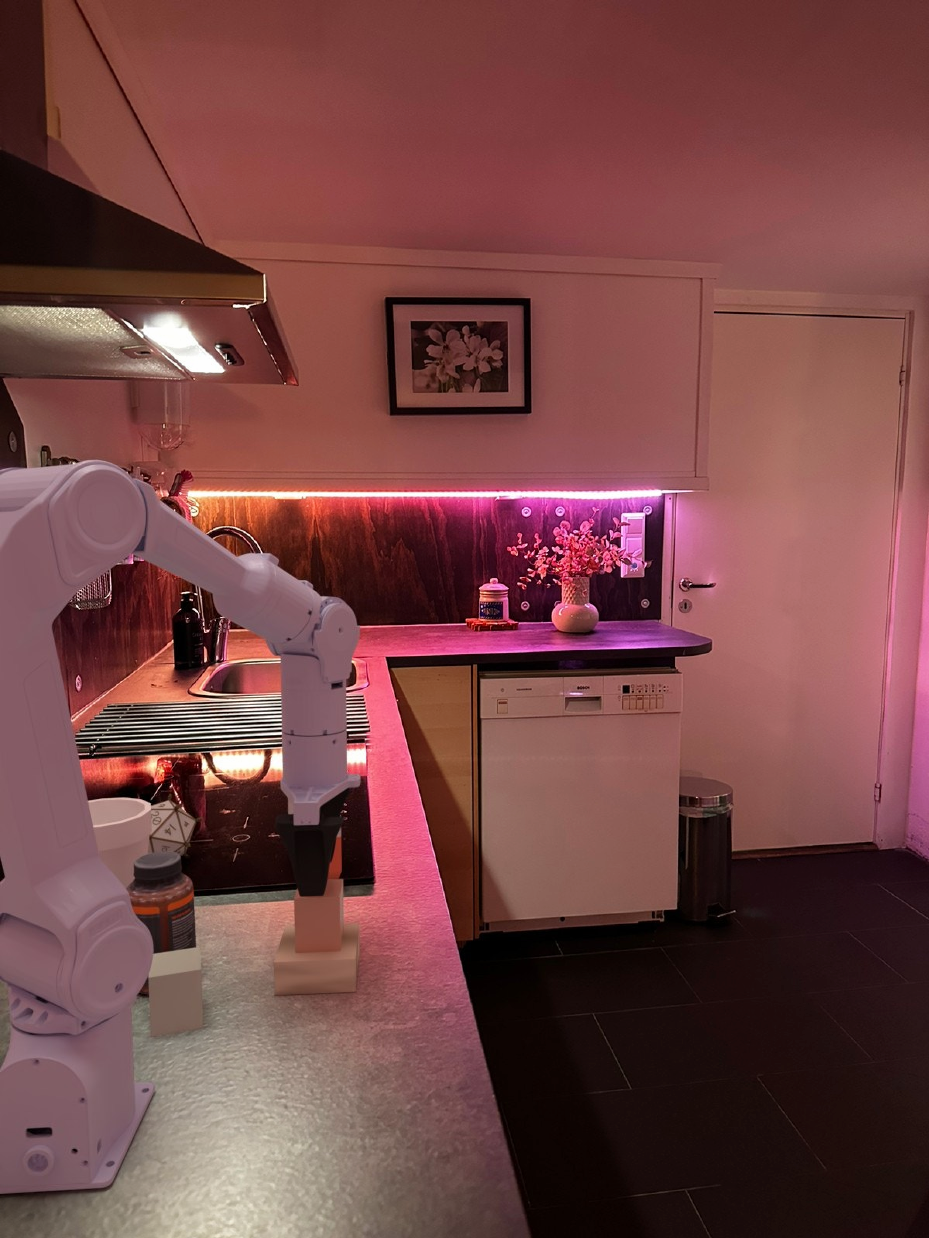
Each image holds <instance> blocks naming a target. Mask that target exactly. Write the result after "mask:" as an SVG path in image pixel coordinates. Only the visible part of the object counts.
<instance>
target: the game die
mask: <svg viewBox="0 0 929 1238" xmlns="http://www.w3.org/2000/svg"><path fill="white" fill-rule="evenodd" d="M172 798H173V795H172V794H171V793H169V794H168V795H167V800H165V801H164V800H163V801H160V802H158V803H155V804H152V805H151V823H152V833H150V835H149V845H148V854H149V853H154V852H163V851H170V852H175V853H178V854H179V855H180V856H181V857H182V856H183V857H184V856H185V857H186V856H189V857H190V854H189V853H186V852H187V851H188V848H190V847H192V846H191V843H190V841H191V839H192V836H193V833H194V830H195V827H196V825H197V822H198V823H199V822H202V820H203V819H204V817H201V816H199V817H197V818H196V817H195V818H194V816H192V815H191V814H190V813H188V812H187V811H185V810H184V809H183V808H182V807H180V804H179V803H178V804H176V802H174V801H172ZM185 857H184V858H185Z"/></svg>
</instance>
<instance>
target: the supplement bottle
mask: <svg viewBox="0 0 929 1238" xmlns="http://www.w3.org/2000/svg"><path fill="white" fill-rule="evenodd" d="M181 857H182V856H180V855H179V854H178V853H175V852H170V851H163V852H154V853H149V854H146V855H143V856H141V857H139V858H138V859H136V860H135V861H134V874H133V875H134V877H135V879H134V880H133V882H131V883H130V884H129V885H128V887H127V888H126V889H127V891H128V892H129V896H130V900H131V905H132V908H133V911H134V913H135V915H136V916H137V918H138V919H139V920H140V921H141V922H142V923H143V924H144V925H146V927H147V928H148V930H149V931H150V934H151V936H152V940H153V954H157V953H163V952H170V951H176V950H183V949H189V948H196V947H197V936H196V935H197V934H196V916H195V914H196V912H195V894H194V891H195V890H194V883H193V881H192V879H191V878H190V877H189V876H187V875H186V874H184V873H183V872H182V869H183V866H182V858H181ZM148 977H149V974H148ZM148 977H147V979H146V981H145V983H144V985H143V987H142V988H141V990H140V992H139V993H138V994H143V995H144V994H145V995H149V979H148Z"/></svg>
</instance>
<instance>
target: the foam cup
mask: <svg viewBox="0 0 929 1238" xmlns="http://www.w3.org/2000/svg"><path fill="white" fill-rule="evenodd" d="M88 804H89V809H90V813H91V818H92V823H93V828H94V833H95V837H96V842H97V847H98V852H99V856H100V857H101V859H102V860H103V862H104V863H105V864H106V865H107V867H108V868H109V869H110V870H111V871H112V872H113V874H114V875H115V876H116V877H117V878H118V879H119V881H120V882H121V883H122V884H123V886H124V887H125V888H127V887H128V885H129V884H130V883H131V882H133V880H134V879H135V877H134V875H133V874H134V861H135V860H136V859H138V858H139V857H141V856H143V855H146V854H148V845H149V835H150V833H152V823H151V804H152V803H150V802H148V801H146V800H143V799H140V798H134V797H133V798H131V797H111V798H110V797H108V798H99V799H98V798H97V799H92V800H88Z"/></svg>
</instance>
